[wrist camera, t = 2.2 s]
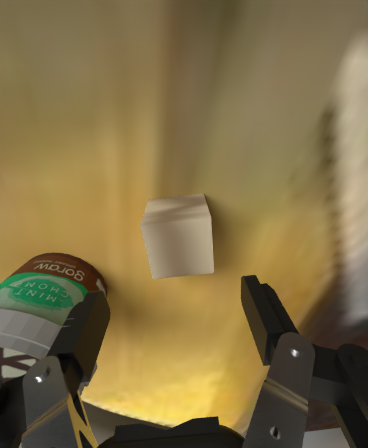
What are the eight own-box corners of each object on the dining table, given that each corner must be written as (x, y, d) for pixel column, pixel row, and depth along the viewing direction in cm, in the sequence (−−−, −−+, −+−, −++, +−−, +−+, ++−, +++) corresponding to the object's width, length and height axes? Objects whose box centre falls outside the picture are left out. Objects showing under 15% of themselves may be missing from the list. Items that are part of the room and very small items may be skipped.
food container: (122, 251, 22) (84, 346, 13) (120, 294, 25) (88, 396, 16) (-7, 235, 21) (-146, 327, 12) (7, 282, 23) (-98, 386, 15)
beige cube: (203, 193, 19) (211, 217, 15) (206, 239, 22) (214, 272, 17) (148, 199, 19) (140, 225, 15) (157, 245, 22) (152, 278, 17)
